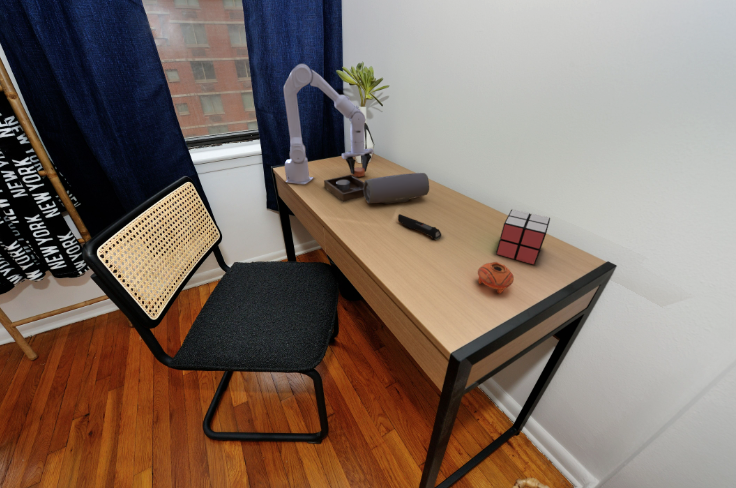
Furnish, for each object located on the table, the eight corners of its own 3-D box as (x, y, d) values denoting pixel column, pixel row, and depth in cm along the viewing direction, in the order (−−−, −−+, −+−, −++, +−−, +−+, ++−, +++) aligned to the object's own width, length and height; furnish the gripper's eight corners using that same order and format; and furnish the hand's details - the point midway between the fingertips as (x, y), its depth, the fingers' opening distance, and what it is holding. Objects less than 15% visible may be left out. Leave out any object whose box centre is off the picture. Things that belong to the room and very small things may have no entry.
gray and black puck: (334, 189, 124) (334, 183, 123) (339, 184, 128) (339, 179, 127) (347, 191, 123) (346, 185, 121) (352, 186, 127) (351, 180, 126)
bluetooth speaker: (417, 192, 122) (419, 168, 116) (428, 202, 114) (431, 176, 109) (363, 200, 116) (362, 174, 111) (370, 210, 109) (370, 184, 103)
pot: (482, 269, 79) (494, 250, 75) (509, 289, 76) (523, 270, 71) (466, 282, 74) (477, 263, 70) (494, 304, 71) (508, 285, 66)
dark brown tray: (324, 188, 126) (323, 180, 125) (351, 182, 132) (351, 174, 130) (343, 202, 114) (342, 194, 113) (372, 195, 120) (372, 187, 118)
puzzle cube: (534, 265, 81) (546, 233, 76) (495, 254, 85) (503, 223, 80) (539, 248, 88) (550, 217, 83) (503, 238, 93) (511, 208, 87)
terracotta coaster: (350, 175, 135) (350, 170, 134) (354, 171, 139) (354, 166, 138) (362, 177, 134) (362, 171, 132) (366, 173, 138) (366, 167, 137)
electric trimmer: (402, 220, 103) (402, 211, 101) (441, 236, 94) (443, 227, 92) (395, 224, 101) (395, 215, 99) (434, 241, 92) (435, 232, 90)
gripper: (346, 145, 123) (348, 178, 130) (377, 140, 129) (377, 171, 136) (338, 141, 128) (340, 173, 135) (368, 137, 134) (368, 167, 141)
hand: (358, 172), depth 136 cm, fingers closed on terracotta coaster, 5 cm apart
